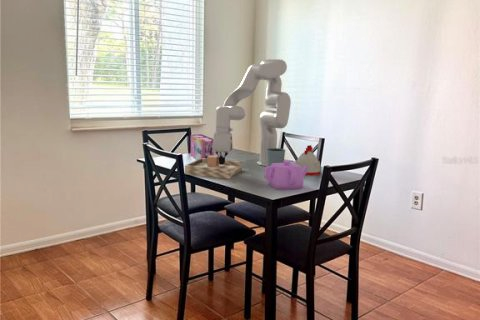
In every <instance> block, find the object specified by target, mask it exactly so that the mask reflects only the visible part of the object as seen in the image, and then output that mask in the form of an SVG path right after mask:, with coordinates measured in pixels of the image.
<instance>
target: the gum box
mask: <svg viewBox="0 0 480 320" xmlns="http://www.w3.org/2000/svg"><path fill="white" fill-rule="evenodd" d="M212 151H213V138H212V137H209V136H206V135H205V134H201V133H200V134H190V156H191V157H192V158H194V159H196V160H198V159H201V158H204V159H207V157H208V156H210V155H212V156H215V153H213V152H212Z"/></svg>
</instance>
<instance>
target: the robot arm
mask: <svg viewBox="0 0 480 320" xmlns="http://www.w3.org/2000/svg"><path fill="white" fill-rule="evenodd" d="M287 68H288V65H287V62H286V61H285V60H284V59H280V58H279V59H275V58H274V59H272V58H270V59H269V58H268V59H264V60H262V61H261V62H260V63H253V64H251V65H250V66H248V68H247V71H246V73H245V74H244V76H243V78H242V81H241V82H240V83H239V85H238V87H237V88H236V89H234V90H233V91H232V92H231V93H230V94H229V95H228V97H226V99H225V101H224V103H223V105H221V106H220V105H219V106H217V107H216V111H215V132H214V133H213V138H212V139H213V151H212V152H213V153H214V154H216V156H218V157H219V164H220V165H223V164H224V163H225V161H226V157H227V156H229V155H233V148H234V145H233V143H234V142H233V134H232V132H233V131H234V130H233V129H234V128H232V127H231V121H241V120H243V119H244V118H245V116H246V110H245V109H244V108H243V107H241V106H237V105H238V104H239V103H240V102H241V101H242V100H245V99H247V98H249V97H250V96H252V95H253V94H254V93H255V91H256V89H257V86H258V85H259V82H260V81H266V88H265V96H264V105H265V106H266V108H270V109H275V110H270V109H267V110H264V111H262V112H261V113H260V115H259V126H260V143H259V146H260V147H259V160H258V161H256V165H258V166H263V167H265V166H267V149H269V148H278V147H277V143H278V132H277V129H280V130H281V129H284V128H286V126H288V121H289V117H290V113H291V112H290V111H291V105H292V103H291V102H292V100H291V99H292V98H291V96H290V95H289V93H287V92H285V91H282V85H283V84H282V78H281V77H280V76H283V75H285V73H287V72H286V71H287Z"/></svg>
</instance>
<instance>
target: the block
mask: <svg viewBox="0 0 480 320" xmlns="http://www.w3.org/2000/svg"><path fill="white" fill-rule="evenodd" d="M218 165H219V157H218V155H214V156H212V155H210V156H208V157H207V166H211V167H217V166H218Z"/></svg>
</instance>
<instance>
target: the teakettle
mask: <svg viewBox="0 0 480 320" xmlns="http://www.w3.org/2000/svg"><path fill="white" fill-rule="evenodd" d="M283 162H284V163H272V164H271V166H264V167H265V168H264V174H263V178H264V179H265V180H267V181H268V185H269V186H271V188H273V189H275V190H279V191H280V190H283V191H284V190H285V191H287V190H301V189H302V188H303V186H304V178H305V176H306V175H305V174H306V172H307V171H308V169H309V167H307V166H305V167H304V168H303V169H302V167H301V166H300V165H298V164H295V162H291V161H290V160H288V159H287V160H285V159H284V161H283Z"/></svg>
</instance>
